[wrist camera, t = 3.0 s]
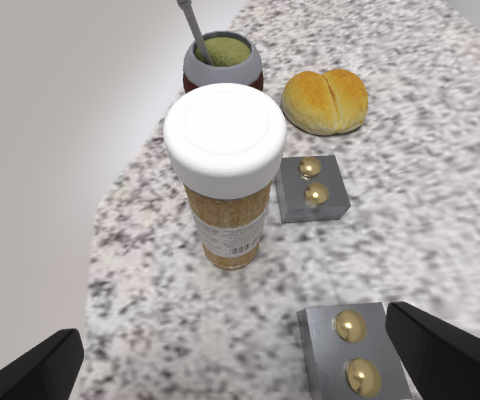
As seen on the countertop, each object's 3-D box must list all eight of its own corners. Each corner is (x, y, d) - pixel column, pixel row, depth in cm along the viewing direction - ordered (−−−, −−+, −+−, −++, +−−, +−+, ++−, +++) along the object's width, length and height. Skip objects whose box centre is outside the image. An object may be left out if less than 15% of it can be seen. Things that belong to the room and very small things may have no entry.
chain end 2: (388, 390, 16) (416, 399, 14) (311, 398, 16) (326, 409, 14) (364, 306, 19) (384, 301, 16) (297, 312, 18) (307, 307, 16)
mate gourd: (255, 99, 29) (272, -98, 16) (261, 154, 25) (291, -45, 12) (189, 100, 29) (151, -100, 16) (186, 156, 25) (132, -46, 12)
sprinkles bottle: (248, 212, 22) (265, 69, 10) (266, 262, 20) (310, 154, 8) (197, 225, 22) (152, 88, 10) (209, 279, 19) (171, 186, 8)
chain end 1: (339, 219, 22) (352, 203, 20) (282, 223, 22) (288, 207, 19) (325, 171, 24) (336, 152, 22) (274, 174, 24) (278, 155, 22)
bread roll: (274, 89, 30) (280, 56, 27) (348, 85, 31) (362, 53, 27) (287, 142, 26) (295, 112, 23) (370, 137, 27) (391, 107, 23)
